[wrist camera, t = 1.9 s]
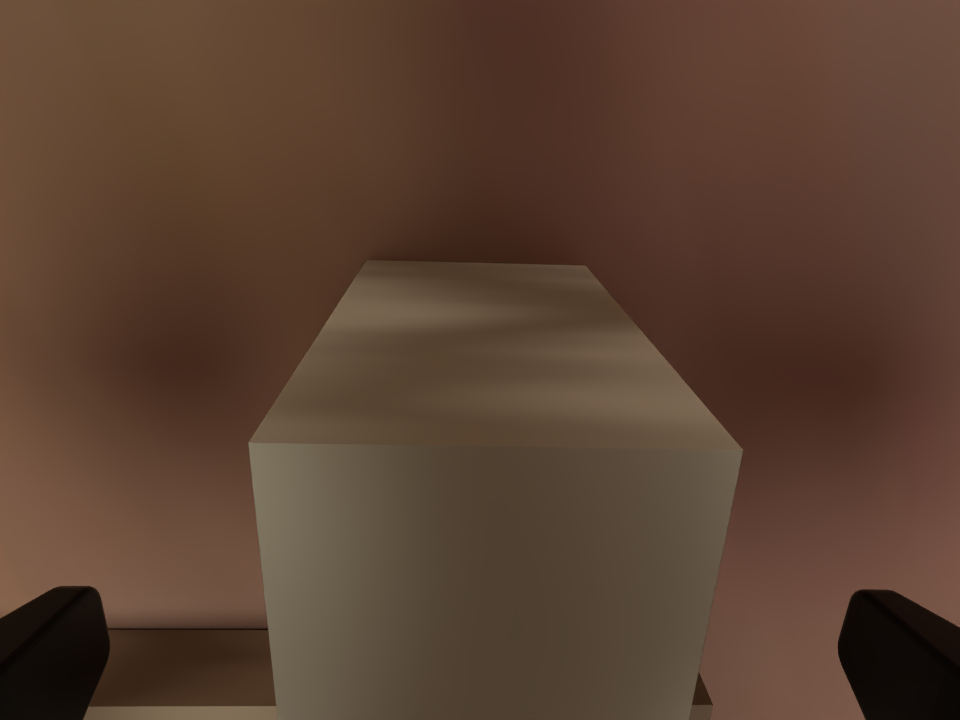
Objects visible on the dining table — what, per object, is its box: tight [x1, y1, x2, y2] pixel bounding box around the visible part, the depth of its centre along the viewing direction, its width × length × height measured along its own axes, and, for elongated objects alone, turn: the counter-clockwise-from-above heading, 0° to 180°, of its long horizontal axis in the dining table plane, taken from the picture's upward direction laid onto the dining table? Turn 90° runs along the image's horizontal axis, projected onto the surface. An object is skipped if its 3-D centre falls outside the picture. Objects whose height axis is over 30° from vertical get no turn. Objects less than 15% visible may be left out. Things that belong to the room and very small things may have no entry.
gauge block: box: [248, 260, 743, 720], centre depth 9 cm, size 4×6×7 cm, turn 178°
